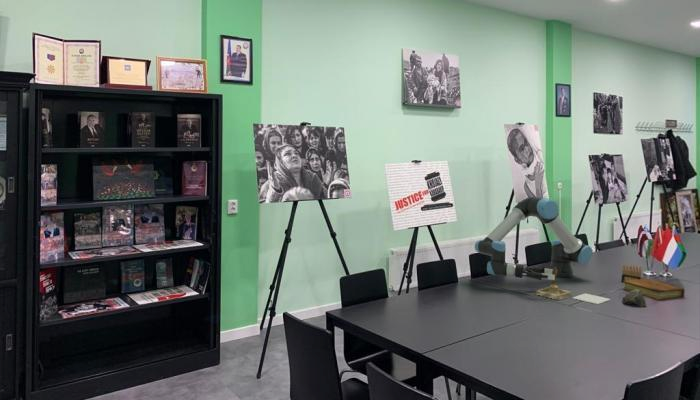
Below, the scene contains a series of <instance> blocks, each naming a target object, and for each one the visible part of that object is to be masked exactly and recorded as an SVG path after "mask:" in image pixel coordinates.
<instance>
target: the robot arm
mask: <svg viewBox="0 0 700 400" xmlns="http://www.w3.org/2000/svg"><path fill="white" fill-rule="evenodd" d="M559 215H560V213H559V204H558V203H557V202H556V200H554V199H551V198H548V197H536V196H529V197H526V198H525V199H522V200H521V201H519V202H518V203H517V204H516V205H514V207H513V208H512V209H511V212H510V213H509V214H508V215H506V217H505V218H504V219H502V221H500V223H499V224H498V225H497V226H495V228H494V229H493V230H492V231H490V233H488V235H487V236H486V237H485V238H484V239H482V240H481V239H479V240H477V241H476V242H475V244H474V250H475V251H476V252H477V253H479V254H481V255H485V256H489V257H491V260H489V261H488V262H487V263H486V264H487V265H486V271H487V272H486V273H488V274H489V275H491V276H492V275H493V276H501V277H509V278H514V277H515V278H518V279H522V278H523V277H527V278H532V279H536V280H538V281H542V280H550V281H553V280H555V275H552V271H553V268H554V267H556V269H557V277H558V278H572V277H574V270H573V266H572V262H573V263H577V264H578V265H579V264H580V265H581V264H582V265H587V264H589V263H590V261H591V260H592V257H593V248H592V247H591V246H590V245H587V244H585V243H584V242H583V241H582V240H581V239H579V238H577V237H576V236H575V235H574V233H573V232H572V231H571V230H570V229H569V227H568V226H567V225H566V223H565V222H564V221H563V220H562V219H561V216H559ZM528 217H534V218H537V219H538V220H539V221H540V223H541V224H545V225H546V226H547V227H548V229H549V230H550V231H551V232H552V233H553V235H554V236H555V237H556V239H553V240H552V243H551V259H550V260H551V261H550V262H551V263H550V264H549V267H548V268H545V266H543V267H530V266H526V267H524V265H523V264H521V263H520V264H519V263H513V262H512V263H510V262H506V252H507V251H506V250H507V249H506V242H505V241H503V239H504V238H505V237H506V236H507V235H508V234H509V233H510V232H511V231H512V230H513V229H515V227H516V226H518V224H520V223H521V221H525V220H526V219H527V218H528ZM557 277H556V278H557Z"/></svg>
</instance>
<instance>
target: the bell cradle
mask: <svg viewBox="0 0 700 400" xmlns="http://www.w3.org/2000/svg"><path fill="white" fill-rule="evenodd" d="M549 287H550V286H548V287H544V288H540V289H537V290H536V291H535V295H536V296H538V295H540V296H539V297H542V296H544V297H543V298H546V297H548V298H547V299H550V298H552V299H551V300H554V299H555V301H558V300H559V301H561V299H562V300H565V299H567V298H572V295H573V294H572V293H573V292H572V291H568V290H565V289H561V288H558V290H559V293H560V295H555V294H551V293H547V292H548V291H549ZM564 298H565V299H564Z"/></svg>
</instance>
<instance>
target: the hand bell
mask: <svg viewBox="0 0 700 400" xmlns="http://www.w3.org/2000/svg"><path fill="white" fill-rule="evenodd" d="M552 275H555V280H552V284H550V285H549V286H548V287H549V291H548V292H547V293H551V294H555V295H560V293H559V290H558V289H559V286H558V285H557V269H556V267H554V268H553V271H552Z"/></svg>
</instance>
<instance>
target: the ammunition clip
mask: <svg viewBox="0 0 700 400" xmlns="http://www.w3.org/2000/svg"><path fill="white" fill-rule="evenodd" d="M638 279H642V265H640V264H639V265H638V264H636V266H635V264H633V266H632V264H631V263H630V264H629V263H625V262H624V263H623V265H622V273H621V281H620V283H623V284H625V283H624V282H623V281H627V280H638Z"/></svg>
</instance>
